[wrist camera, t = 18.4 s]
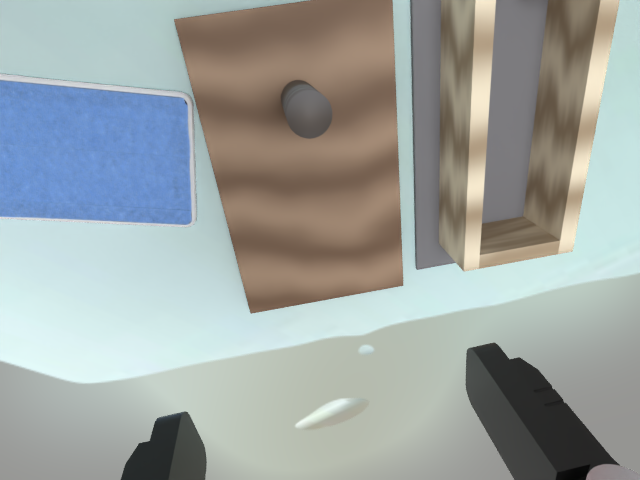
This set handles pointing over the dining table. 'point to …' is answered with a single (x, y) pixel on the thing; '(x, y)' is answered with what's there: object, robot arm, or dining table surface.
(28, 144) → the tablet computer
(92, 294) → the dining table surface
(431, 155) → the rubber mat
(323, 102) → the post stand
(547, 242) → the wooden open box
